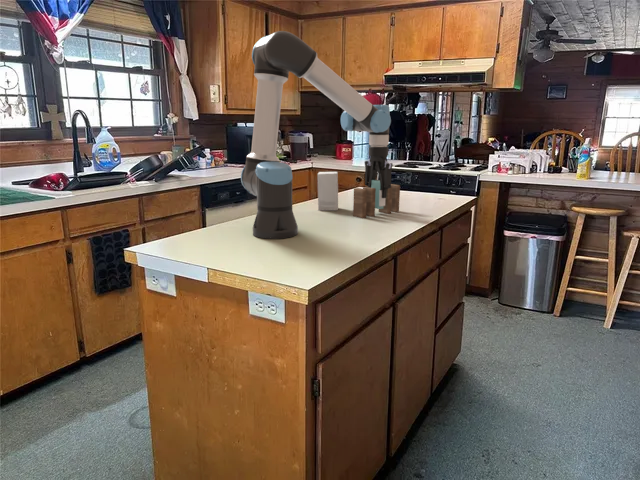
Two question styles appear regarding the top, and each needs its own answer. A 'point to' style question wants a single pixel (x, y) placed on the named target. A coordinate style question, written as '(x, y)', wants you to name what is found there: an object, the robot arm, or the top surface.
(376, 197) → the teal tile
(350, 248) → the top surface
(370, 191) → the domino
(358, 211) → the domino
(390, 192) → the domino
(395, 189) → the domino
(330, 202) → the skincare box
